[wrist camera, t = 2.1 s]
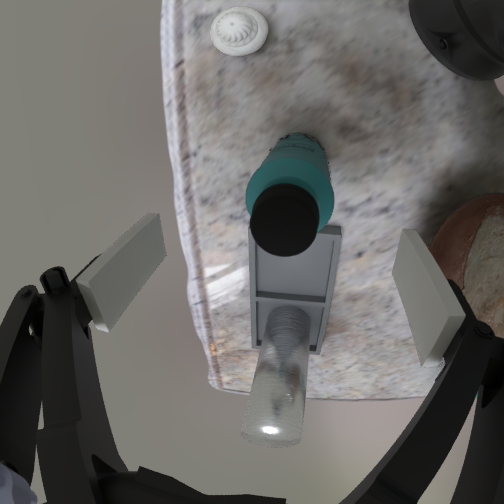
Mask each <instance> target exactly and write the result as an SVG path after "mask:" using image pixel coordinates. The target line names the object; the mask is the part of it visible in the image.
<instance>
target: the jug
mask: <svg viewBox="0 0 504 504" xmlns="http://www.w3.org/2000/svg"><path fill="white" fill-rule="evenodd" d="M428 250H429V251H430V253H431V254H432V256H433V258H434V259H435V261H436V262H437V264H438V266H439V267H440V269H441V271H442V273H443V274H444V276H445V278H446V279H452V280H453V281H454V282H455V283H456V284H457V285H458V286H459V287H460V289H461V291H462V292H463V295H464V296H465V298H466V299H467V301H468V303H469V305H470V307H471V309H472V310H473V312H474V314H475V316H476V318H477V320H480V321H483V322H485V323H487V324H488V325H489V326H490V327H491V328H492V329H493V331H494V333H495V336H497V337H501V338H504V193H490V194H484V195H481V196H478V197H476V198H474V199H472V200H470V201H468V202H466V203H465V204H463V205H462V206H460V207H459V208H458V209H457V210H455V211H454V212H453V213H452V214H451V215H450V216H449V217H448V218H447V219H446V221H445V222H444V223H443V224H442V226H441V227H440V228H439V230H438V232H437V233H436V235H435V237H434V238H433V240H432V242H431V244H430V247H429V249H428Z"/></svg>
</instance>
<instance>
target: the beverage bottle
mask: <svg viewBox="0 0 504 504" xmlns="http://www.w3.org/2000/svg"><path fill="white" fill-rule="evenodd" d="M279 140H280V141H279V142H278V143H277V144H276V145H275V147H274V148H273V149H272V148H271V149H272V151H271V149H270V151H271V152H270V153H269V155H268V156H267V157H266V159H264V161H263V163H262V165H261V166H260V168H257V170H256V172H255V173H254V174H253V176H252V177H251V179H250V181H249V183H248V186H247V189H246V206H247V210H248V212H249V215H250V217H251V218H250V230H251V234H252V236H253V238H254V240H255V242H256V243H257V244H258V246H259V247H260V248H262V249H263V250H264V251H266V252H267V253H269V254H272V255H275V256H279V257H291V256H295V255H298V254H300V253H302V252H304V251H305V250H307V249H308V248H309V247H310V246H311V244H312V243H313V242H314V240H315V238H316V235H317V233H318V232H319V231H320V230H321V229H322V228H323V227H324V226H325V225H326V224H327V223H328V221H329V219H330V217H331V215H332V212H333V209H334V192H333V189H332V186H331V183H332V182H330V174H329V169H330V168H329V169H328V167H329V166H328V165H327V161H328V160H326V159H327V158H326V155H325V152H324V150H325V149H323V147H321V145H320V142H318V141H317V140H315V138H312V137H310V136H307V135H304V134H302V133H301V134H294V133H293V134H292V135H291V134H290V135H289V134H288V135H287V136H286V137H284V138H282V137H281V138H280V139H279ZM328 164H329V162H328ZM330 171H331V170H330ZM330 173H331V172H330ZM331 175H332V174H331Z"/></svg>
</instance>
